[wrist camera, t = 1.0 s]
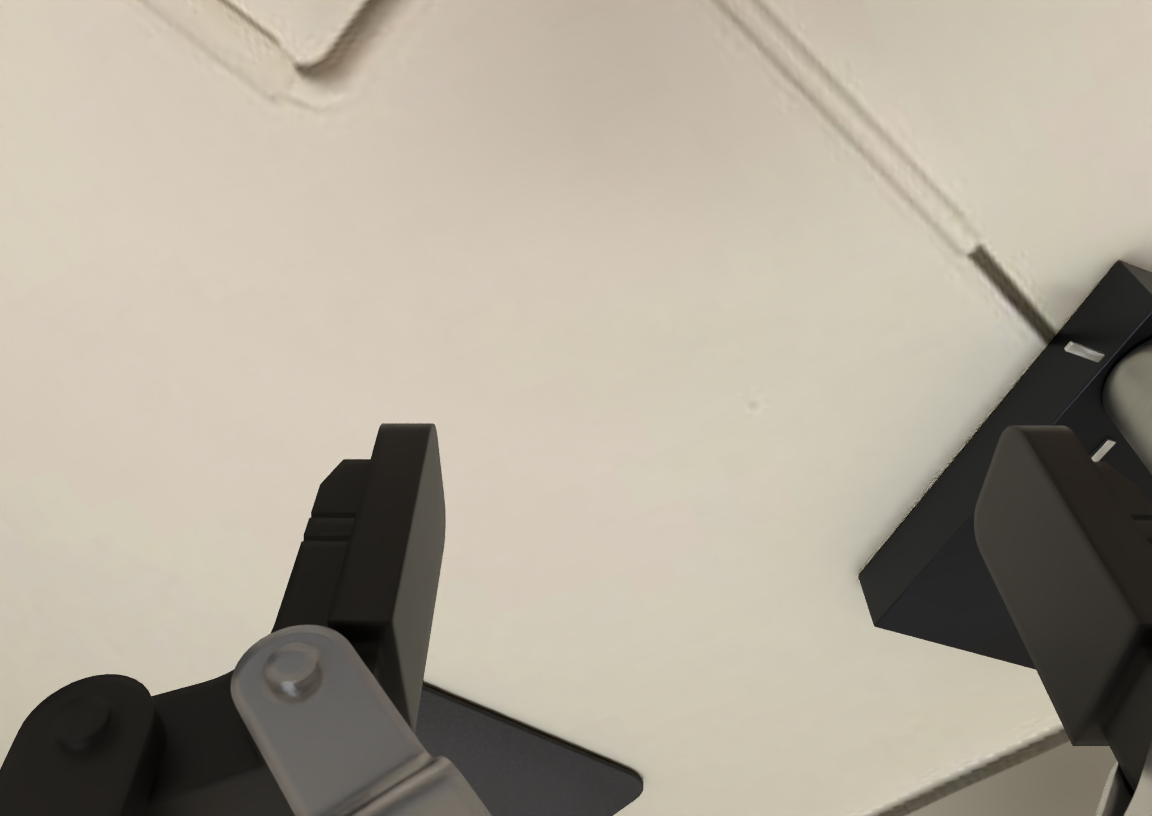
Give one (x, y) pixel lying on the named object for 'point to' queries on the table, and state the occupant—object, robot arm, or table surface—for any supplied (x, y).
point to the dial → (1132, 400)
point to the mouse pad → (520, 763)
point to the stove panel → (946, 513)
